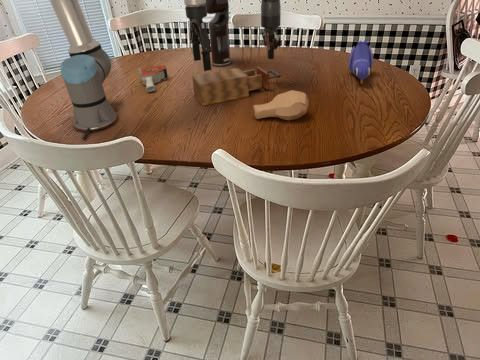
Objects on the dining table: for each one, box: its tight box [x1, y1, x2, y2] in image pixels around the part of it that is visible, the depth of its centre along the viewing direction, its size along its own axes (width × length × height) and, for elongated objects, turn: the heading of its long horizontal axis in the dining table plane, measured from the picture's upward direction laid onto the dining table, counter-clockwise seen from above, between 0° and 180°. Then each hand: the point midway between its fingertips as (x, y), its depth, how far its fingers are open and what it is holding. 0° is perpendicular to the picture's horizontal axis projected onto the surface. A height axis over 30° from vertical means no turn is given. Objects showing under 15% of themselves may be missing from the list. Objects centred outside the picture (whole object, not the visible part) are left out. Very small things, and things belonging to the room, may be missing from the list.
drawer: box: [242, 66, 281, 92], centre depth 149 cm, size 24×10×6 cm, turn 112°
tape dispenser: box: [137, 64, 169, 93], centre depth 162 cm, size 18×5×20 cm
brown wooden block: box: [191, 67, 250, 106], centre depth 145 cm, size 20×11×8 cm, turn 112°
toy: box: [347, 40, 374, 85], centre depth 151 cm, size 10×17×25 cm
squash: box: [252, 89, 310, 121], centre depth 127 cm, size 11×20×9 cm, turn 92°
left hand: (202, 65), depth 137 cm, fingers open, 13 cm apart
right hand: (270, 58), depth 147 cm, fingers closed
